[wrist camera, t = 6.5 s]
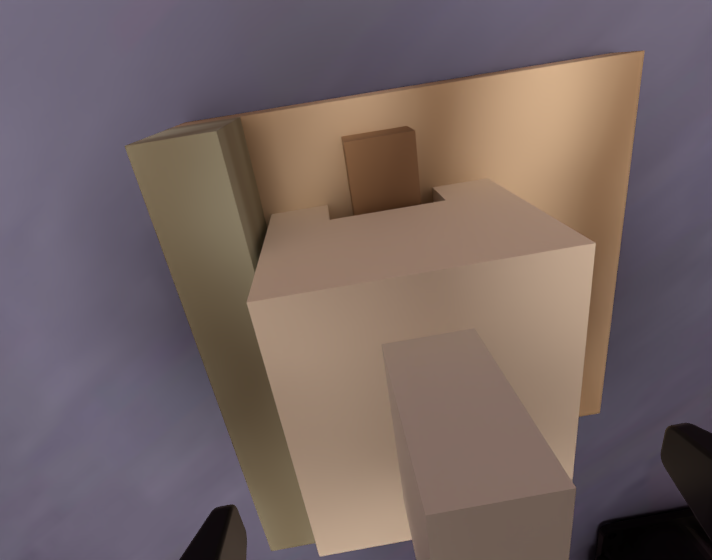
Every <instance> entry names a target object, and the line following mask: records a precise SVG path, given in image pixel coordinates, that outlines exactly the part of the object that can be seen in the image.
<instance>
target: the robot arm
mask: <svg viewBox="0 0 712 560" xmlns="http://www.w3.org/2000/svg"><path fill="white" fill-rule="evenodd" d="M661 460H662V463H663V465H664V467H665V469H666V470H667V472H668V473H669V475H670V477H671V478H672V480H673V481H674V483H675V485H676V486H677V488H678V489H679V491H680V493H681V494H682V496H683V497H684V499H685V501H686V502H687V504H688V505H689V507H690V509H685V510H680V511H674V512H669V513H664V514H658V515H653V516H647V517H642V518H636V519H631V520H626V521H620V522H615V523H609V524H606V525H604V526H602V527H601V528H600V530H599V536H598V543H597V550H596V557H595V560H712V433H710V432H708V431H706V430H704V429H702V428H700V427H697V426H695V425H693V424H690V423H681V424H676V425H671V426H668V427H667V428H666V431H665V435H664V439H663V444H662V449H661ZM246 550H247V536H246V530H245V527H244V525H243V522H242V520H241V517H240V515H239V512H238V509H237V508H236V506H235V505H226V506H220V507H216V508H215V509H214V510H212V512H211V513H210V515H209V516H208V518H207V519H206V521H205V522H204V524H203V525H202V527H201V528H200V530H199V531H198V533H197V534H196V536H195V537H194V538H193V540H192V541H191V543H190V544H189V546H188V547H187V549H186V550H185V552H184V553H183V555H182V556H181V558H180V559H179V560H246Z"/></svg>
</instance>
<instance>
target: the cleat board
mask: <svg viewBox="0 0 712 560" xmlns="http://www.w3.org/2000/svg"><path fill="white" fill-rule="evenodd" d="M643 59H644V51H633V52H618V53H609V54H603V55H597V56H591V57H585V58H578V59H572V60H566V61H560V62H554V63H548V64H542V65H535V66H529V67H523V68H517V69H511V70H505V71H499V72H492V73H486V74H480V75H474V76H468V77H462V78H456V79H450V80H443V81H437V82H431V83H425V84H419V85H413V86H407V87H400V88H394V89H388V90H382V91H376V92H370V93H364V94H358V95H351V96H345V97H339V98H333V99H327V100H321V101H315V102H308V103H302V104H296V105H290V106H284V107H278V108H272V109H266V110H259V111H253V112H247V113H241V114H235V115H229V116H223V117H216V118H210V119H204V120H198V121H192V122H186V123H183V124H180V125H177V126H175V127H172V128H170V129H167V130H165V131H162V132H160V133H157V134H154V135H152V136H149V137H147V138H144V139H142V140H139V141H136V142H134V143H131V144H129V145H126V146H125V149H126V151H127V154H128V157H129V160H130V162H131V165H132V168H133V171H134V173H135V176H136V179H137V182H138V184H139V187H140V190H141V193H142V195H143V198H144V201H145V204H146V206H147V209H148V212H149V215H150V218H151V220H152V223H153V226H154V229H155V231H156V234H157V237H158V240H159V242H160V245H161V248H162V251H163V253H164V256H165V259H166V262H167V264H168V267H169V270H170V273H171V275H172V278H173V281H174V284H175V286H176V289H177V292H178V295H179V298H180V300H181V303H182V306H183V309H184V311H185V314H186V317H187V320H188V322H189V325H190V328H191V331H192V333H193V336H194V339H195V342H196V344H197V347H198V350H199V353H200V355H201V358H202V361H203V364H204V366H205V369H206V372H207V375H208V378H209V380H210V383H211V386H212V389H213V391H214V394H215V397H216V400H217V402H218V405H219V408H220V411H221V413H222V416H223V419H224V422H225V424H226V427H227V430H228V433H229V435H230V438H231V441H232V444H233V446H234V449H235V452H236V455H237V458H238V460H239V463H240V466H241V469H242V471H243V474H244V477H245V480H246V482H247V485H248V488H249V491H250V493H251V496H252V499H253V502H254V504H255V507H256V510H257V513H258V515H259V518H260V521H261V524H262V527H263V529H264V532H265V535H266V538H267V540H268V543H269V546H270V549H271V551H274V550H280V549H285V548H291V547H296V546H302V545H307V544H313V543H316V542H315V539H314V535H313V532H312V528H311V525H310V521H309V518H308V514H307V511H306V507H305V504H304V501H303V497H302V494H301V490H300V487H299V483H298V480H297V476H296V473H295V469H294V466H293V462H292V459H291V455H290V452H289V448H288V445H287V441H286V438H285V435H284V431H283V428H282V424H281V421H280V417H279V414H278V410H277V407H276V403H275V400H274V396H273V393H272V389H271V386H270V382H269V379H268V375H267V372H266V368H265V365H264V362H263V358H262V355H261V351H260V348H259V344H258V341H257V337H256V334H255V330H254V327H253V323H252V320H251V316H250V313H249V309H248V306H247V299H248V296H249V292H250V289H251V285H252V282H253V278H254V275H255V271H256V268H257V264H258V261H259V257H260V254H261V250H262V247H263V243H264V240H265V236H266V233H267V229H268V225H269V222H270V218H271V215H272V214H275V213H281V212H287V211H293V210H299V209H305V208H311V207H317V206H323V205H328V210H329V215H330V220H331V219H337V218H343V217H349V216H355V215H361V214H367V213H373V212H379V211H385V210H391V209H397V208H403V207H409V206H415V205H421V204H427V203H433V189H432V187H437V186H443V185H449V184H455V183H461V182H467V181H473V180H479V179H485V178H488V179H490V180H491V181H493V182H495V183H496V184H498V185H500V186H501V187H503V188H505V189H506V190H508V191H510V192H511V193H513V194H515V195H516V196H518V197H520V198H521V199H523V200H525V201H526V202H528V203H530V204H531V205H533V206H535V207H536V208H538V209H540V210H541V211H543V212H545V213H546V214H548V215H550V216H551V217H553V218H555V219H556V220H558V221H560V222H561V223H563V224H565V225H566V226H568V227H570V228H572V229H573V230H575V231H577V232H578V233H580V234H582V235H583V236H585V237H587V238H588V239H590V240H592V241H593V242H595V243H596V246H595V256H594V266H593V277H592V287H591V297H590V307H589V317H588V327H587V337H586V348H585V358H584V368H583V378H582V388H581V398H580V408H579V417H580V416H586V415H591V414H597V413H600V406H601V398H602V390H603V382H604V374H605V366H606V358H607V350H608V341H609V333H610V325H611V317H612V309H613V301H614V293H615V285H616V277H617V269H618V261H619V253H620V245H621V236H622V228H623V220H624V212H625V204H626V196H627V188H628V180H629V172H630V164H631V156H632V148H633V140H634V131H635V123H636V115H637V107H638V99H639V91H640V83H641V75H642V67H643Z"/></svg>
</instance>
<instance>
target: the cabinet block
mask: <svg viewBox="0 0 712 560" xmlns="http://www.w3.org/2000/svg"><path fill="white" fill-rule="evenodd" d="M432 189H433V203H427V204H421V205H415V206H409V207H403V208H397V209H391V210H385V211H379V212H373V213H367V214H361V215H355V216H349V217H343V218H337V219H331V220H330V215H329V210H328V205H323V206H317V207H311V208H305V209H299V210H293V211H287V212H281V213H275V214H272V215H271V218H270V222H269V225H268V229H267V233H266V236H265V240H264V243H263V247H262V250H261V254H260V257H259V261H258V264H257V268H256V271H255V275H254V278H253V282H252V285H251V289H250V292H249V296H248V299H247V306H248V309H249V313H250V316H251V320H252V323H253V327H254V330H255V334H256V337H257V341H258V344H259V348H260V351H261V355H262V358H263V362H264V365H265V368H266V372H267V375H268V379H269V382H270V386H271V389H272V393H273V396H274V400H275V403H276V407H277V410H278V414H279V417H280V421H281V424H282V428H283V431H284V435H285V438H286V441H287V445H288V448H289V452H290V455H291V459H292V462H293V466H294V469H295V473H296V476H297V480H298V483H299V487H300V490H301V494H302V497H303V501H304V504H305V507H306V511H307V514H308V518H309V521H310V525H311V528H312V532H313V535H314V539H315V542H316V546H317V549H318V553H319V556H325V555H331V554H336V553H342V552H347V551H353V550H358V549H364V548H369V547H375V546H380V545H386V544H391V543H397V542H402V541H408V540H412V542H413V547H414V551H415V556H416V560H569V552H570V542H571V533H572V523H573V514H574V504H575V495H576V487H575V485H574V484H573V482H572V479H573V469H574V459H575V449H576V439H577V429H578V418H579V408H580V398H581V388H582V378H583V368H584V358H585V348H586V337H587V327H588V317H589V307H590V297H591V287H592V277H593V266H594V256H595V246H596V243H595V242H593V241H592V240H590V239H588V238H587V237H585V236H583V235H582V234H580V233H578V232H577V231H575V230H573V229H572V228H570V227H568V226H566V225H565V224H563V223H561V222H560V221H558V220H556V219H555V218H553V217H551V216H550V215H548V214H546V213H545V212H543V211H541V210H540V209H538V208H536V207H535V206H533V205H531V204H530V203H528V202H526V201H525V200H523V199H521V198H520V197H518V196H516V195H515V194H513V193H511V192H510V191H508V190H506V189H505V188H503V187H501V186H500V185H498V184H496V183H495V182H493V181H491V180H490V179H488V178H485V179H479V180H473V181H467V182H461V183H455V184H449V185H443V186H437V187H432Z"/></svg>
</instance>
